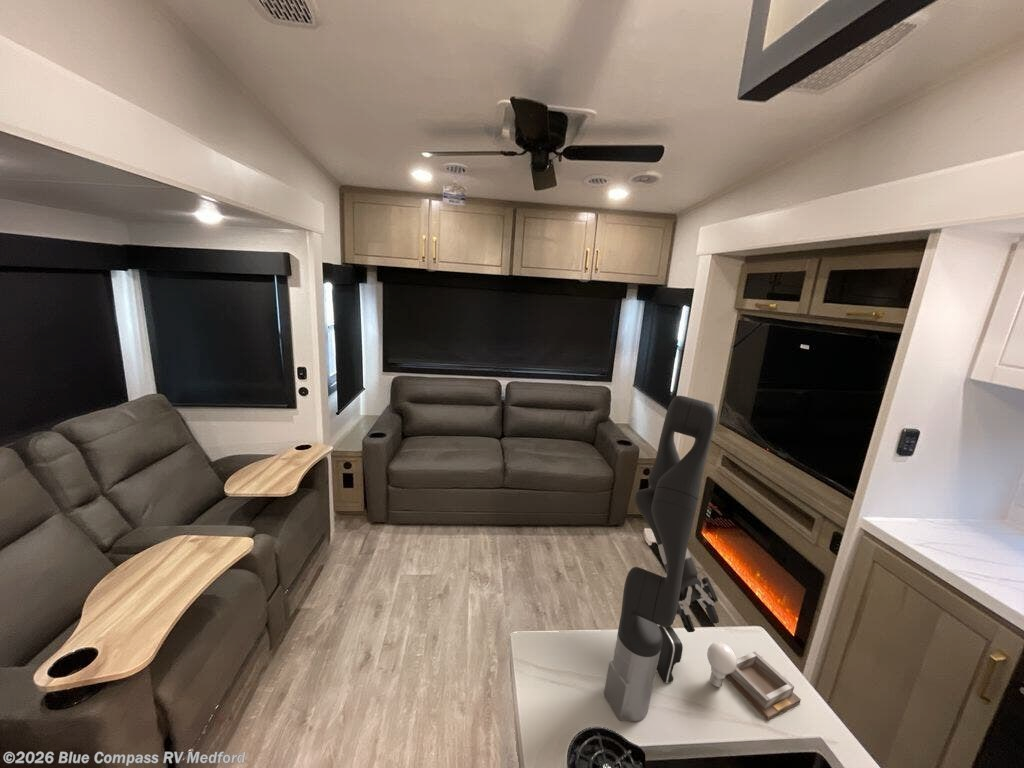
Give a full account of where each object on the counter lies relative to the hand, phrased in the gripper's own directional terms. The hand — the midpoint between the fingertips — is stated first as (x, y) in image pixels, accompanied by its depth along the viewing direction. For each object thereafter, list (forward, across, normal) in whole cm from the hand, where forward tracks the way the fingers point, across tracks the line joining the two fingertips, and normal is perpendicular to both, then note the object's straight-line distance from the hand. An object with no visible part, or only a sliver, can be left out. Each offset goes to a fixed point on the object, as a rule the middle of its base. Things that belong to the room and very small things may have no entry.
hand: (703, 627), depth 100 cm
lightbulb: (+12, 0, +4) cm, 13 cm away
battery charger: (+7, -10, +9) cm, 15 cm away
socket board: (+15, +10, +1) cm, 18 cm away
